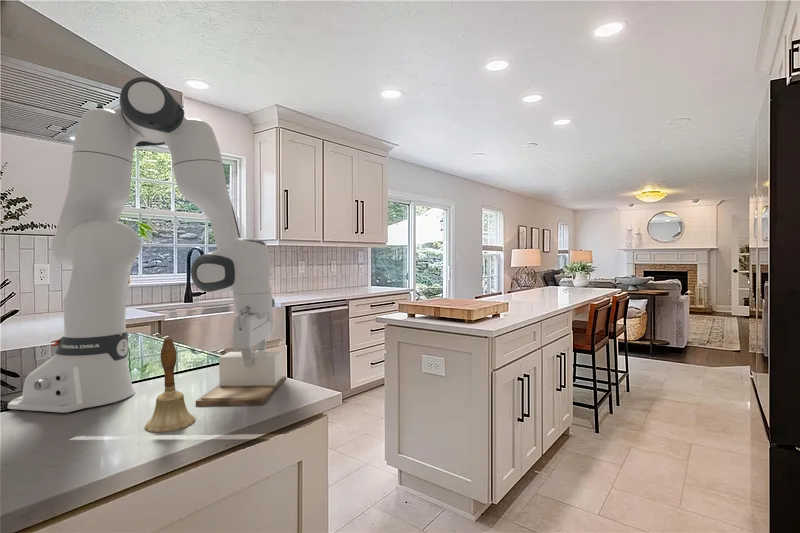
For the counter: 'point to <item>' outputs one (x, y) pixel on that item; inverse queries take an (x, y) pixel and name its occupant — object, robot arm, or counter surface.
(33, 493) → the counter surface
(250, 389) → the board
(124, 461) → the counter surface
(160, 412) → the hand bell
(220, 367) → the lid
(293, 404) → the counter surface
